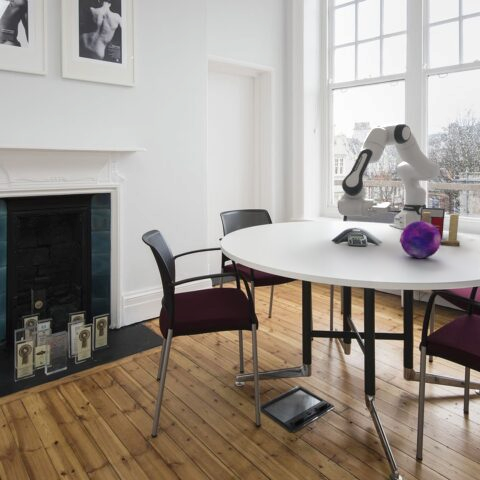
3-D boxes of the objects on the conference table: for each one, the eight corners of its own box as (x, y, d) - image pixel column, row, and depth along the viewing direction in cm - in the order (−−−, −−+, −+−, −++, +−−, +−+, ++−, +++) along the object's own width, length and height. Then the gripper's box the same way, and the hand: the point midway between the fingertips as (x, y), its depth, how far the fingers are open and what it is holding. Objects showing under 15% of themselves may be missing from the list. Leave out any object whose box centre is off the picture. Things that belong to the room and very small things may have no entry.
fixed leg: (446, 241, 206) (448, 214, 204) (446, 240, 210) (448, 213, 208) (458, 242, 204) (460, 215, 202) (458, 241, 208) (460, 214, 206)
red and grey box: (419, 236, 230) (421, 208, 227) (419, 235, 233) (422, 207, 231) (442, 238, 225) (444, 209, 222) (442, 237, 228) (444, 208, 226)
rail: (399, 242, 214) (399, 238, 213) (401, 240, 220) (401, 236, 220) (459, 246, 203) (459, 243, 203) (458, 243, 209) (459, 240, 209)
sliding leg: (418, 239, 211) (420, 212, 209) (419, 237, 215) (421, 211, 213) (429, 240, 209) (432, 213, 207) (430, 238, 213) (432, 212, 211)
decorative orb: (413, 262, 169) (416, 224, 166) (392, 255, 183) (394, 219, 181) (447, 261, 172) (450, 223, 170) (423, 253, 187) (426, 218, 184)
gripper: (366, 204, 212) (397, 204, 206) (373, 199, 230) (401, 200, 224) (366, 217, 213) (396, 218, 207) (372, 211, 231) (400, 212, 226)
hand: (399, 208), depth 216 cm, fingers closed
